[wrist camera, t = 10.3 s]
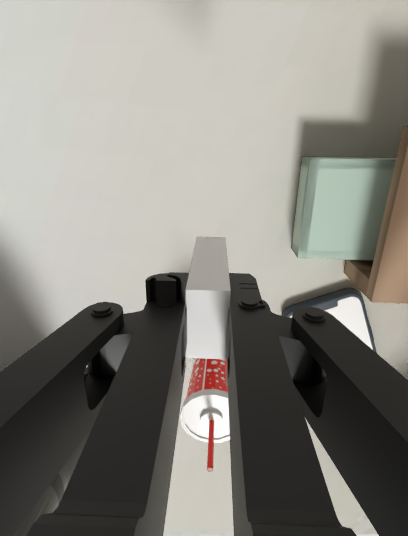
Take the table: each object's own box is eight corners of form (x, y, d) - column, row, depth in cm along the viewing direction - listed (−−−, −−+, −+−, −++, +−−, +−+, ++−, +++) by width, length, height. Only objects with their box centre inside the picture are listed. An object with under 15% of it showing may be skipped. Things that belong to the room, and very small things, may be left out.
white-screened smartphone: (383, 390, 40) (356, 282, 35) (389, 400, 39) (362, 289, 33) (313, 408, 42) (277, 307, 36) (317, 418, 40) (279, 315, 35)
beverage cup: (197, 384, 41) (186, 499, 28) (182, 345, 38) (162, 449, 25) (244, 374, 40) (256, 489, 27) (231, 333, 38) (237, 436, 25)
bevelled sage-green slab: (291, 248, 33) (297, 258, 31) (302, 156, 30) (310, 158, 27) (429, 252, 33) (449, 262, 30) (456, 159, 29) (481, 160, 27)
